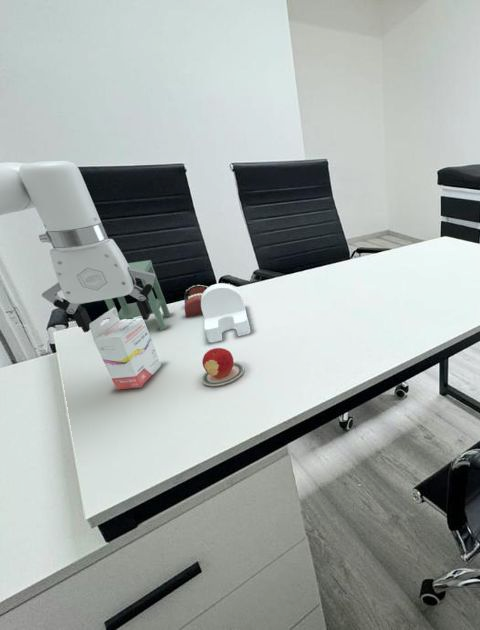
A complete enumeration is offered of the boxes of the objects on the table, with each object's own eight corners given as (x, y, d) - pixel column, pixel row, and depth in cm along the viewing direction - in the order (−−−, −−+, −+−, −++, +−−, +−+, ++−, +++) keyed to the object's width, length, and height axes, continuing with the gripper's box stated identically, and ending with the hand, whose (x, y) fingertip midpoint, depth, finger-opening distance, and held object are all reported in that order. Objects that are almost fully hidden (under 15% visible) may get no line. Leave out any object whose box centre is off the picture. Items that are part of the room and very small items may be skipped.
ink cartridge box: (142, 388, 77) (113, 323, 71) (116, 390, 77) (84, 325, 70) (163, 364, 85) (138, 303, 78) (139, 366, 84) (112, 306, 78)
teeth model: (178, 298, 102) (180, 284, 112) (185, 319, 105) (186, 304, 115) (213, 292, 106) (212, 279, 116) (219, 313, 108) (217, 299, 118)
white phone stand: (208, 343, 92) (195, 302, 88) (208, 315, 107) (196, 278, 102) (251, 333, 96) (240, 293, 91) (245, 307, 111) (235, 271, 106)
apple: (248, 377, 79) (240, 350, 76) (205, 392, 75) (195, 364, 72) (239, 360, 85) (231, 334, 82) (199, 374, 81) (189, 347, 78)
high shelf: (120, 338, 97) (94, 278, 90) (128, 322, 105) (105, 266, 98) (166, 329, 100) (144, 271, 93) (170, 314, 109) (150, 260, 102)
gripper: (6, 250, 61) (56, 342, 69) (132, 233, 68) (166, 320, 75) (26, 239, 68) (70, 325, 75) (140, 225, 74) (171, 306, 81)
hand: (118, 323), depth 75 cm, fingers open, 9 cm apart
